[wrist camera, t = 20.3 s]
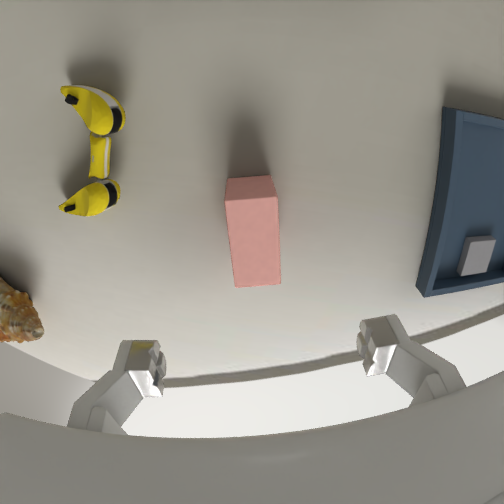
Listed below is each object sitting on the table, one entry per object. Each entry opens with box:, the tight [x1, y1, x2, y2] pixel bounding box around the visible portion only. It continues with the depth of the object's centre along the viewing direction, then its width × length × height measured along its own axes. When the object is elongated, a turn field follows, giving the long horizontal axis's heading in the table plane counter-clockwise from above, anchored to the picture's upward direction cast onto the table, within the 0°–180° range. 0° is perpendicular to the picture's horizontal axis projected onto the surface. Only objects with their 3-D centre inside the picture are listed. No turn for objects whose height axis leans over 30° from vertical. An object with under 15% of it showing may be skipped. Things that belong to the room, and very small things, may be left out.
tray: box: [416, 107, 504, 298], centre depth 23 cm, size 14×18×2 cm
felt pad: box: [456, 235, 496, 276], centre depth 26 cm, size 4×4×1 cm
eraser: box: [224, 175, 281, 288], centre depth 22 cm, size 3×6×5 cm, turn 4°
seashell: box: [0, 277, 44, 343], centre depth 25 cm, size 9×8×10 cm
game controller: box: [59, 85, 125, 216], centre depth 19 cm, size 10×6×4 cm, turn 169°
